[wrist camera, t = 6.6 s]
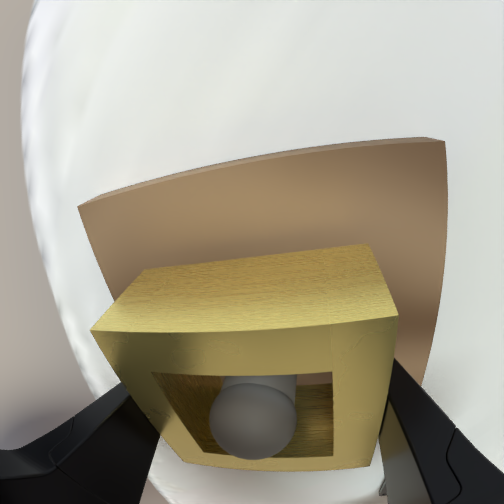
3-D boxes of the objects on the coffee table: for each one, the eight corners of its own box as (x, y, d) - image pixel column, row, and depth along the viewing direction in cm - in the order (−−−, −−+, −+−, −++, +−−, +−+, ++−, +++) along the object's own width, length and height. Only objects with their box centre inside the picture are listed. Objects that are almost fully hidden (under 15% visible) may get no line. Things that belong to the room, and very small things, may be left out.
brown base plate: (410, 377, 12) (433, 491, 6) (183, 389, 15) (142, 486, 9) (425, 137, 8) (570, 184, 2) (100, 194, 11) (-27, 269, 5)
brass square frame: (364, 398, 10) (369, 465, 7) (204, 402, 11) (184, 461, 8) (368, 243, 7) (399, 315, 4) (144, 269, 9) (89, 329, 6)
